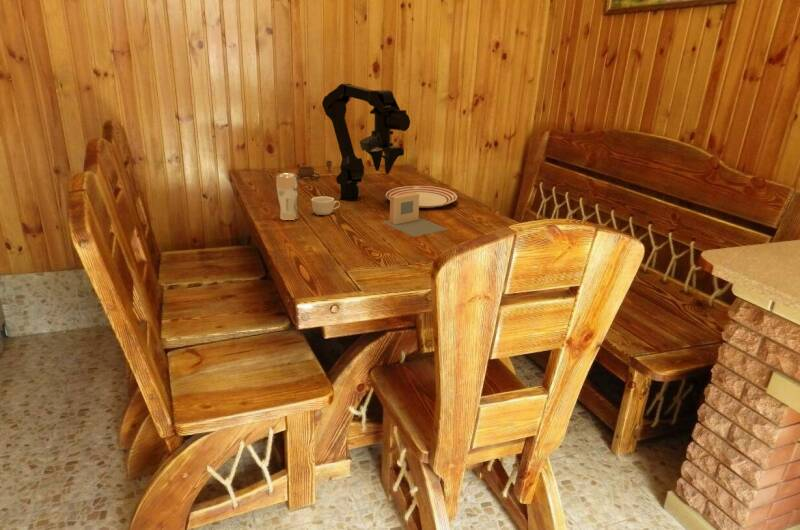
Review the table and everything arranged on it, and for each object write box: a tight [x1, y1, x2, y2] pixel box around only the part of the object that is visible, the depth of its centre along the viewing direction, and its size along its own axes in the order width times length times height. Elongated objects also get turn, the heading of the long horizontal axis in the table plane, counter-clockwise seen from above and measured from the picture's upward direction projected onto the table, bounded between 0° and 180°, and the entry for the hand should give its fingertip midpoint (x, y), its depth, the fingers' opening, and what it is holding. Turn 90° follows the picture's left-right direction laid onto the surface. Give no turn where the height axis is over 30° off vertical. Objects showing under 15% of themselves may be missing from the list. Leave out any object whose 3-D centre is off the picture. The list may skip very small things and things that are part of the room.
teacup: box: [310, 195, 341, 216], centre depth 188 cm, size 10×8×5 cm
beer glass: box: [275, 172, 299, 221], centre depth 180 cm, size 7×7×15 cm
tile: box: [389, 192, 420, 224], centre depth 180 cm, size 3×10×9 cm, turn 126°
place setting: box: [294, 160, 333, 180], centre depth 242 cm, size 18×20×6 cm
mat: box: [382, 216, 449, 238], centre depth 177 cm, size 18×14×1 cm
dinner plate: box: [385, 185, 458, 209], centre depth 206 cm, size 28×27×3 cm
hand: (382, 172), depth 194 cm, fingers open, 6 cm apart
